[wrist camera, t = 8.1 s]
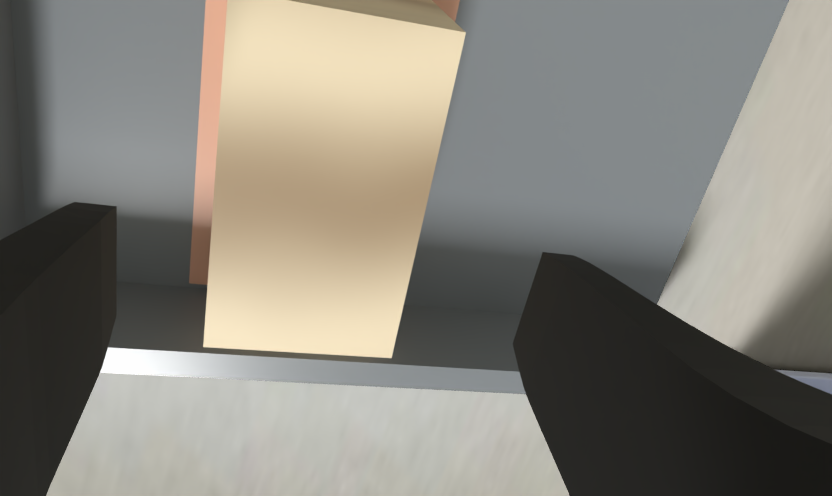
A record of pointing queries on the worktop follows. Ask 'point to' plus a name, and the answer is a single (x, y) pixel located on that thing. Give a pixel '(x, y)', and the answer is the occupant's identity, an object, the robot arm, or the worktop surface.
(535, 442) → the worktop surface
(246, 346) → the maple bar
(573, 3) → the board
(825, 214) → the worktop surface
